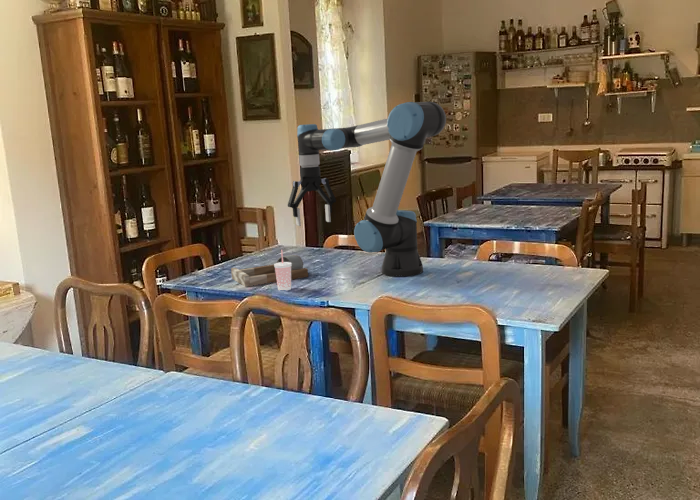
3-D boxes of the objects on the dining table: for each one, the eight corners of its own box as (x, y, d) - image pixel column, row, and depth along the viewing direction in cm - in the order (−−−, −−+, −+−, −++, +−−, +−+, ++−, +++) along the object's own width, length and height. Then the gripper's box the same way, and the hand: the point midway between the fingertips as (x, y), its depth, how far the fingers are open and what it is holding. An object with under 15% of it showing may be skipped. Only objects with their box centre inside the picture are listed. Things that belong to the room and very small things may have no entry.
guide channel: (308, 276, 264) (307, 266, 264) (245, 286, 254) (244, 275, 253) (292, 269, 279) (291, 259, 278) (232, 278, 268) (231, 268, 268)
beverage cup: (290, 291, 244) (287, 251, 242) (273, 291, 246) (270, 251, 243) (295, 286, 250) (292, 247, 248) (278, 286, 251) (275, 247, 249)
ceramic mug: (305, 273, 270) (304, 253, 269) (292, 277, 263) (290, 257, 262) (283, 271, 276) (281, 252, 275) (270, 275, 269) (268, 255, 268)
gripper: (334, 163, 275) (337, 218, 279) (276, 168, 265) (280, 226, 269) (342, 163, 269) (346, 220, 273) (283, 169, 258) (287, 228, 262)
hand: (313, 223), depth 271 cm, fingers open, 12 cm apart
